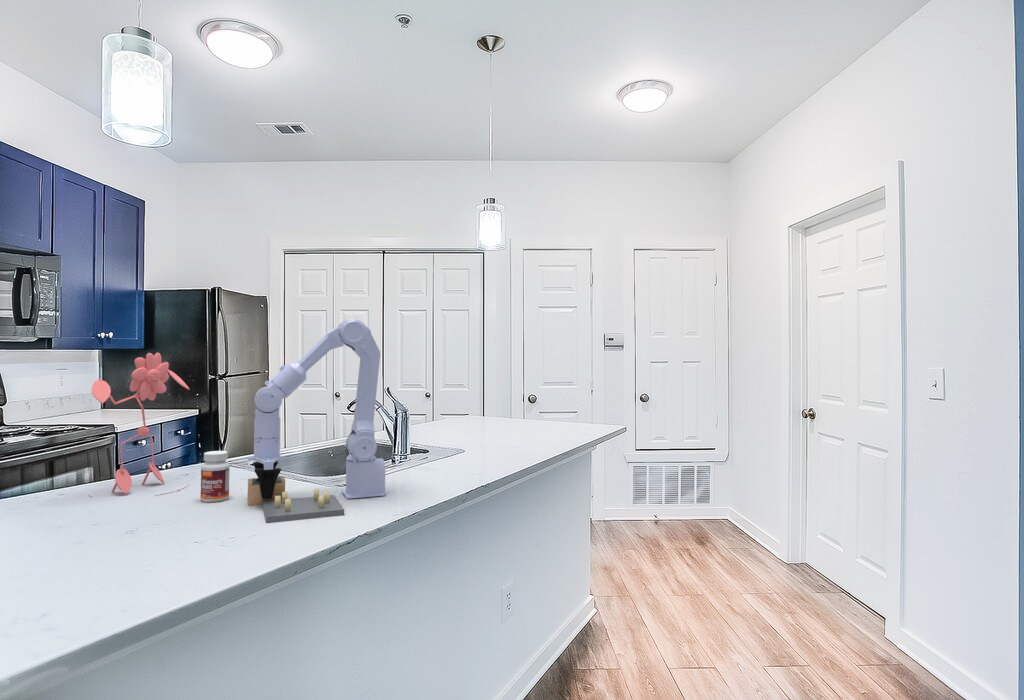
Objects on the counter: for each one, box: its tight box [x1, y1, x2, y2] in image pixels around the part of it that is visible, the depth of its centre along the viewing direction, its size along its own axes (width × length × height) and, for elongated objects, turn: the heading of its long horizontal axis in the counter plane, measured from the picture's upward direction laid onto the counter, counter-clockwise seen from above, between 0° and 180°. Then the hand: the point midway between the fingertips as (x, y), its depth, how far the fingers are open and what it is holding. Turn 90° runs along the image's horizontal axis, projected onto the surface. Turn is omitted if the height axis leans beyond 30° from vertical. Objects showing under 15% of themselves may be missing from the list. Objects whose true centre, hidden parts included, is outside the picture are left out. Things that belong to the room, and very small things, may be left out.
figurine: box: [88, 352, 190, 498], centre depth 152 cm, size 15×26×35 cm, turn 167°
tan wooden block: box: [246, 475, 286, 507], centre depth 142 cm, size 8×5×6 cm, turn 116°
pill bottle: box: [200, 450, 231, 503], centre depth 144 cm, size 6×6×11 cm
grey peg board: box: [262, 488, 345, 524], centre depth 135 cm, size 16×14×4 cm
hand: (266, 494), depth 142 cm, fingers open, 7 cm apart
